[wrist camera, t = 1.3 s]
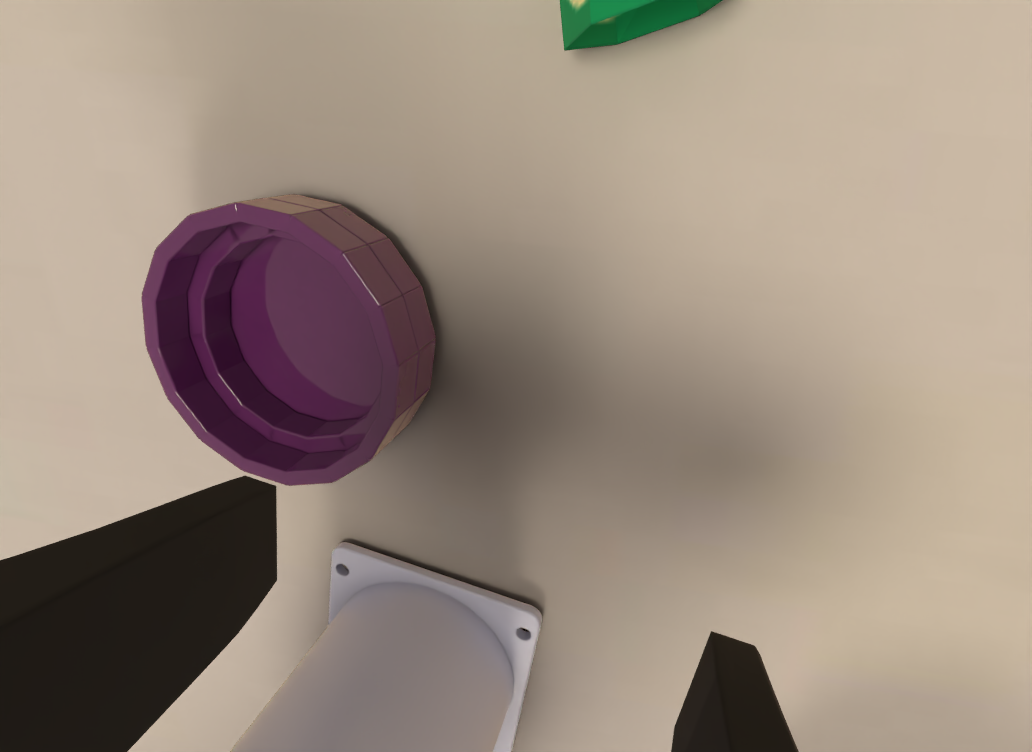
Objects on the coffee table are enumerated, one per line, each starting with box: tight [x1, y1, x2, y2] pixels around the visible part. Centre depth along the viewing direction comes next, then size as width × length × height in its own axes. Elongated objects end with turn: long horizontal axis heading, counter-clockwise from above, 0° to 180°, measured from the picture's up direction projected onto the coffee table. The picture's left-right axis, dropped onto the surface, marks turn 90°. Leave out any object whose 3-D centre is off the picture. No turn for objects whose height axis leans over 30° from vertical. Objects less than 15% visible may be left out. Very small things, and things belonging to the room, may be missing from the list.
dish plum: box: [142, 194, 436, 486], centre depth 19 cm, size 8×8×3 cm
